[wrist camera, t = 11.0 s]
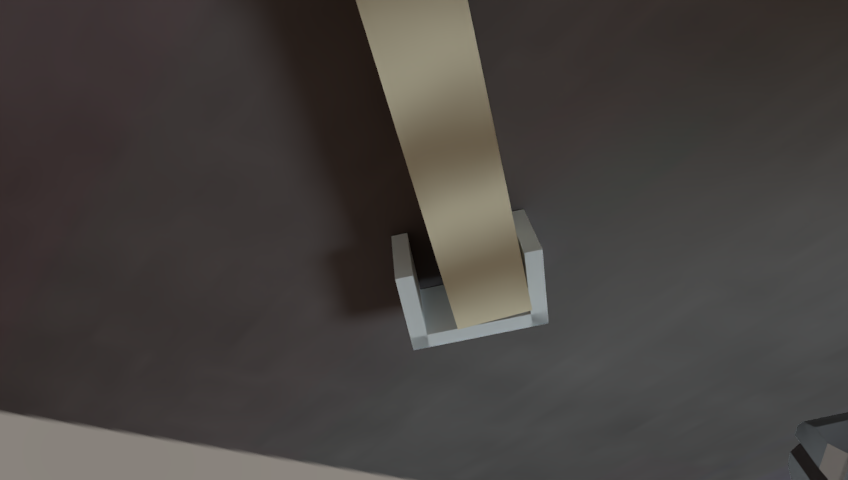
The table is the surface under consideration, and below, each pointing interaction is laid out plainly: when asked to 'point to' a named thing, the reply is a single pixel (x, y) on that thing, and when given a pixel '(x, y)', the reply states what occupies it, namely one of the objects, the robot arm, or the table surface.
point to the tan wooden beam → (450, 150)
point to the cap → (432, 307)
